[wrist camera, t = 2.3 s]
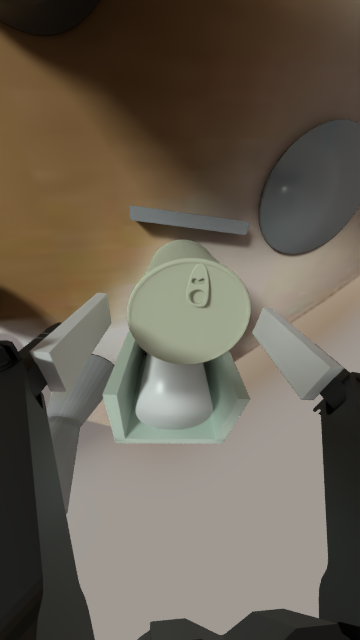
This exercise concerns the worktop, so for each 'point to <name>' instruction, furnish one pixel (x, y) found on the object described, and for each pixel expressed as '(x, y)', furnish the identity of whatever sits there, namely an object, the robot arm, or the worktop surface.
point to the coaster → (312, 188)
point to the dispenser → (174, 375)
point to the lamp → (75, 416)
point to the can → (187, 306)
